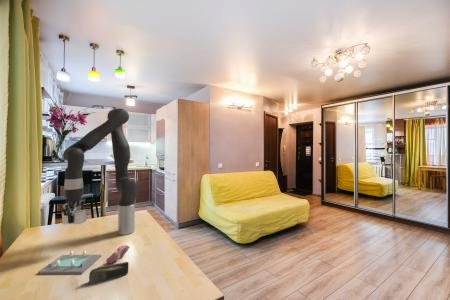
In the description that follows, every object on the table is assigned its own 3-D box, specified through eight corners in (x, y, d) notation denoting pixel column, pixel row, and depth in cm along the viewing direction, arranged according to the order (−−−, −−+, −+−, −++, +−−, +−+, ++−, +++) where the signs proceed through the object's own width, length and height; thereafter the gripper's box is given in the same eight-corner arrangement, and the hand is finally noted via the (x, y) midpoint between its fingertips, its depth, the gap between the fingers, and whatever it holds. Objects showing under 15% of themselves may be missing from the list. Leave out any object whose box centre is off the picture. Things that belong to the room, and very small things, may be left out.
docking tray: (62, 256, 95) (62, 248, 95) (101, 256, 95) (101, 248, 95) (37, 274, 82) (37, 264, 82) (82, 273, 82) (82, 264, 82)
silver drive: (68, 221, 103) (68, 209, 103) (86, 221, 103) (85, 209, 103) (62, 224, 99) (62, 212, 99) (80, 224, 99) (80, 212, 99)
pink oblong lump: (112, 268, 89) (118, 255, 88) (104, 262, 90) (110, 249, 89) (127, 256, 99) (132, 244, 98) (119, 251, 99) (125, 239, 99)
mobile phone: (128, 259, 85) (85, 269, 77) (128, 263, 82) (84, 273, 75) (128, 271, 85) (85, 282, 77) (128, 275, 82) (84, 286, 75)
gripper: (71, 190, 94) (71, 226, 94) (90, 184, 108) (91, 216, 108) (54, 190, 93) (55, 227, 94) (76, 184, 108) (76, 216, 108)
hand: (74, 221), depth 101 cm, fingers closed on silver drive, 4 cm apart
